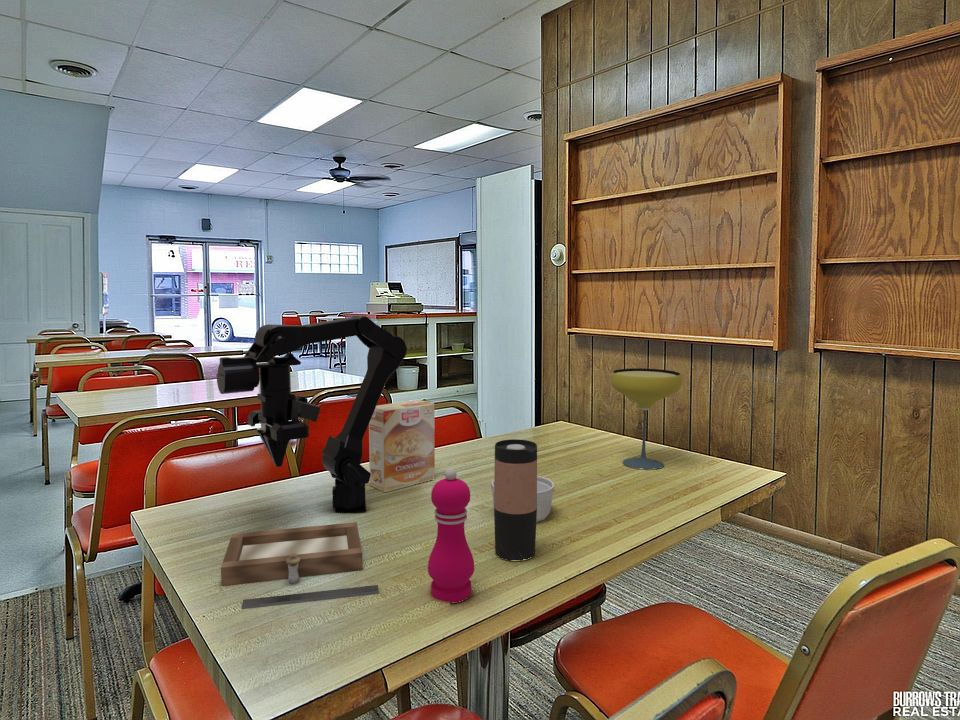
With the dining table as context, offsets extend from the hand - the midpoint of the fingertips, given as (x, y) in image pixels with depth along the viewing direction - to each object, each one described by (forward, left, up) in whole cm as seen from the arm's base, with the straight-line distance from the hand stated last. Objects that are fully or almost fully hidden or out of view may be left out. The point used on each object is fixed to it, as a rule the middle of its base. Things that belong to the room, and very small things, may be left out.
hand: (278, 466), depth 123 cm
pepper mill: (-28, +36, -12) cm, 47 cm away
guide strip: (-7, +33, -12) cm, 36 cm away
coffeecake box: (-27, -21, -12) cm, 36 cm away
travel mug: (-42, +24, -12) cm, 50 cm away
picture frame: (-4, +20, -12) cm, 23 cm away
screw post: (-4, +27, -12) cm, 30 cm away
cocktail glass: (-92, -22, -12) cm, 95 cm away
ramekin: (-49, +6, -12) cm, 51 cm away
